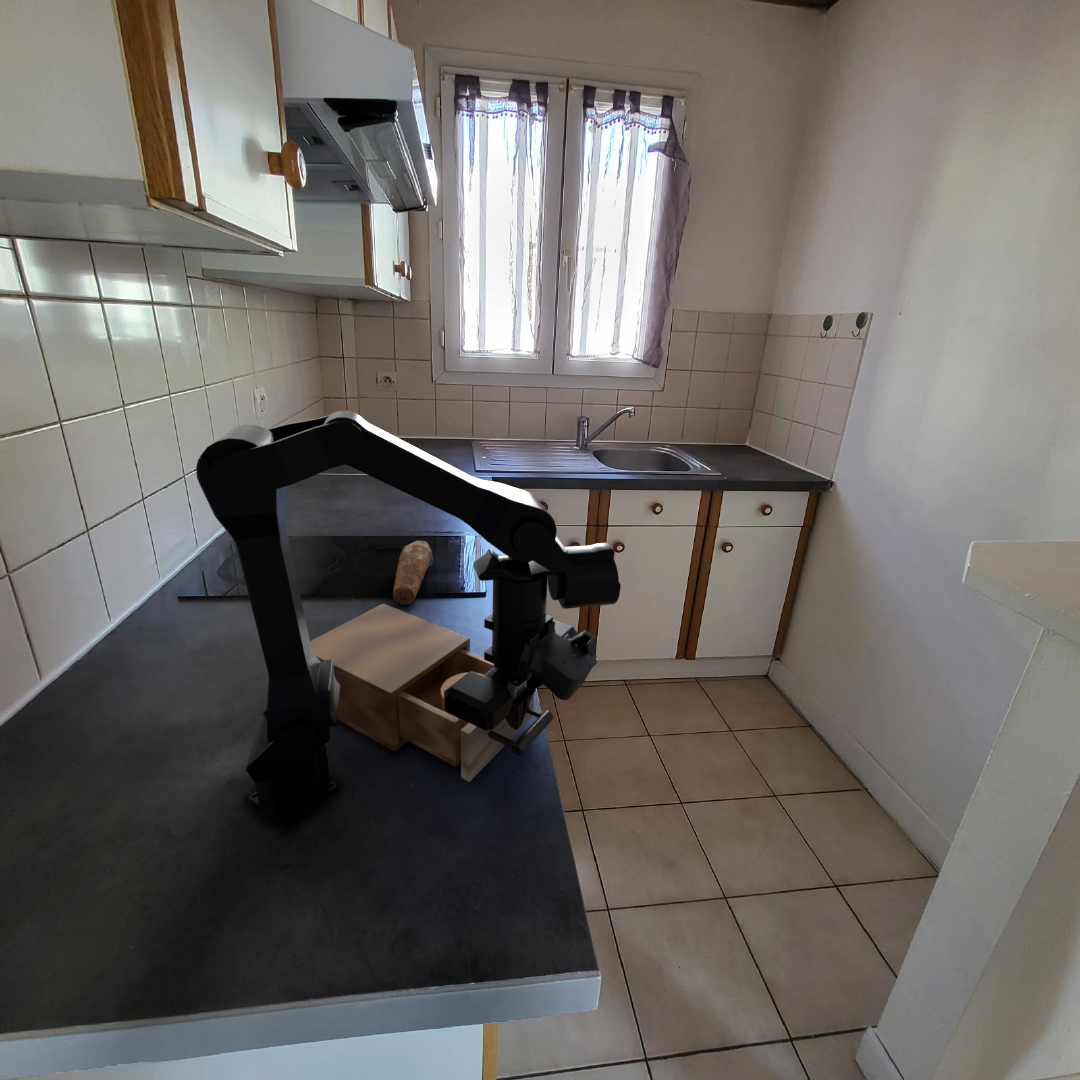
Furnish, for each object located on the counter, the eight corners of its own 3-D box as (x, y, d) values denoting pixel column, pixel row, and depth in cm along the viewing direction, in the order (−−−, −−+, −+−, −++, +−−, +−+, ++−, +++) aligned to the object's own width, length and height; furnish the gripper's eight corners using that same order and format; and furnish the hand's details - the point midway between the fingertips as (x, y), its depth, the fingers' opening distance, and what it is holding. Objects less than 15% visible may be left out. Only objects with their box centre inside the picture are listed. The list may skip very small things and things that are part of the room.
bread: (433, 564, 117) (432, 540, 115) (417, 608, 100) (416, 580, 98) (403, 563, 117) (401, 538, 115) (382, 607, 99) (380, 579, 97)
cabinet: (470, 690, 79) (470, 638, 76) (394, 752, 67) (390, 693, 64) (386, 652, 87) (382, 603, 84) (305, 701, 75) (297, 647, 72)
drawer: (564, 730, 71) (567, 686, 68) (503, 801, 60) (505, 752, 57) (442, 675, 80) (441, 635, 78) (371, 728, 70) (367, 683, 67)
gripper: (536, 679, 48) (530, 813, 54) (624, 597, 63) (611, 709, 69) (438, 639, 54) (442, 764, 59) (540, 572, 68) (535, 678, 74)
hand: (515, 726), depth 65 cm, fingers closed, pressing on drawer
